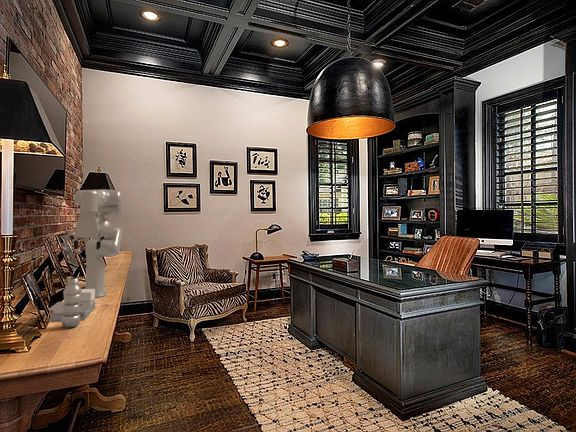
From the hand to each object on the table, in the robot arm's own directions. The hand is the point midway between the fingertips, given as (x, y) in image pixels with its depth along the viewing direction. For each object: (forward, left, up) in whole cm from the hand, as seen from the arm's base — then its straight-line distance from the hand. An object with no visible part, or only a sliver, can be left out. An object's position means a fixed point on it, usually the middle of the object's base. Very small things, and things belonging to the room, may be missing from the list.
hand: (87, 249), depth 178 cm
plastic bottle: (+33, +2, -29) cm, 44 cm away
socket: (+14, -2, -29) cm, 32 cm away
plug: (-2, +1, -29) cm, 29 cm away
